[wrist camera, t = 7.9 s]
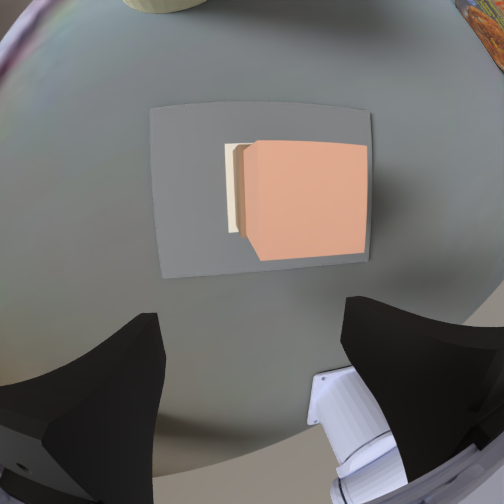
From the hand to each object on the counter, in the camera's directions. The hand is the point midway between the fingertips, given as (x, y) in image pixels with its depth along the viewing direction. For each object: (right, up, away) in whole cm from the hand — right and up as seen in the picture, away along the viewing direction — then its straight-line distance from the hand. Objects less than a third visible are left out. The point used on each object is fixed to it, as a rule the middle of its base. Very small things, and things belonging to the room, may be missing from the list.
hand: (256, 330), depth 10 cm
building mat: (+1, +7, +9) cm, 12 cm away
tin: (+30, +32, +6) cm, 44 cm away
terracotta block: (+2, +6, +5) cm, 8 cm away
